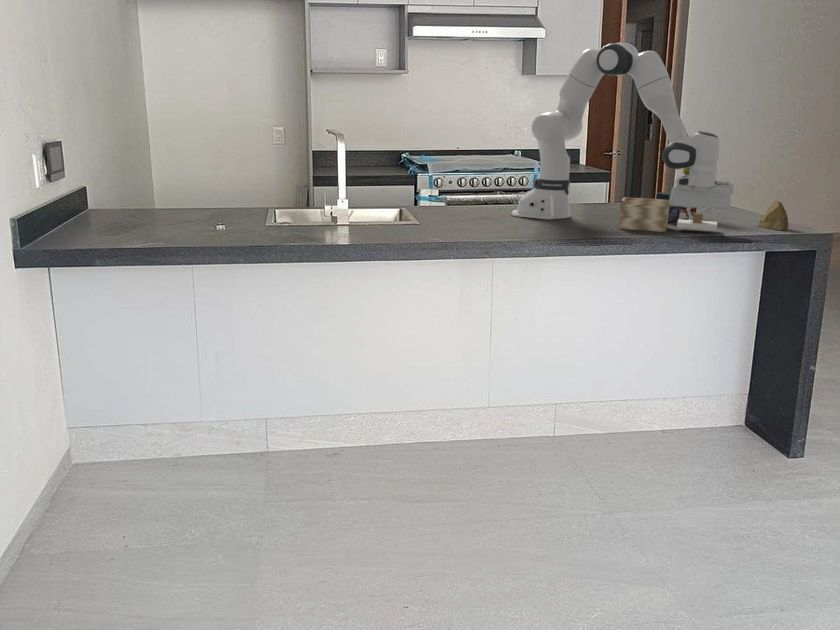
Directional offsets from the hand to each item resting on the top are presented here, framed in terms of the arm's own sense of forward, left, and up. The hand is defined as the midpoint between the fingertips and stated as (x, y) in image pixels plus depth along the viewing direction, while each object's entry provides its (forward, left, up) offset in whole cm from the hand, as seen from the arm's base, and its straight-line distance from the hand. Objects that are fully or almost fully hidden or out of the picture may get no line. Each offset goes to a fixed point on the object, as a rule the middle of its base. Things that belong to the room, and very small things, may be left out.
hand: (697, 220), depth 277 cm
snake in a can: (-4, +28, -4) cm, 29 cm away
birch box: (-18, 0, -4) cm, 18 cm away
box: (-11, +19, -4) cm, 23 cm away
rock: (+26, +18, -4) cm, 32 cm away
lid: (0, 0, -2) cm, 2 cm away
